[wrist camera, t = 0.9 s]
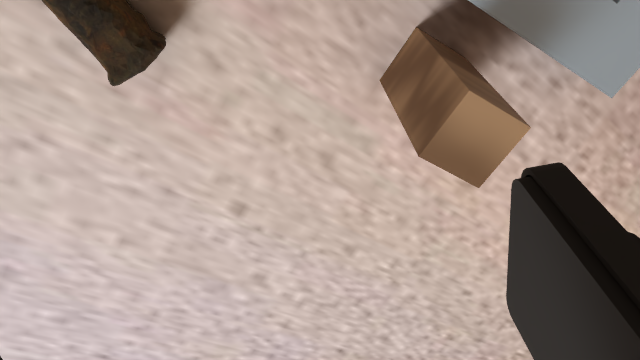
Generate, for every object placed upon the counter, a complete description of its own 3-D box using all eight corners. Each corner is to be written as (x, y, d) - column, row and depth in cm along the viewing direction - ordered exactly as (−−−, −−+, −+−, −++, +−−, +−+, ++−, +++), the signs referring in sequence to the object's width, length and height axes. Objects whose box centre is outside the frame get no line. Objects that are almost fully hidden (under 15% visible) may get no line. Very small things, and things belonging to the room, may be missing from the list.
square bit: (416, 27, 34) (469, 90, 26) (465, 57, 36) (530, 127, 27) (379, 80, 36) (418, 156, 27) (427, 107, 37) (478, 188, 29)
